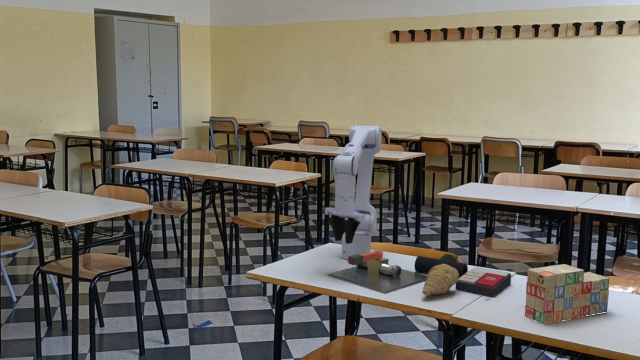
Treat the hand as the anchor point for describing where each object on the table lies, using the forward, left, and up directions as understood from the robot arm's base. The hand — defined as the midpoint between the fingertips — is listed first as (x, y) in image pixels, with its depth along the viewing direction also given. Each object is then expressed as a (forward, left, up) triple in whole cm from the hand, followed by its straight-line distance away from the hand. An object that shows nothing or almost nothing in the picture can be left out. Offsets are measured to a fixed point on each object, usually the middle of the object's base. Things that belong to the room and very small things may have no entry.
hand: (343, 241), depth 177 cm
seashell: (+29, +7, -11) cm, 32 cm away
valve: (+8, +7, -10) cm, 15 cm away
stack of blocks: (+59, +19, -11) cm, 63 cm away
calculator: (+33, +23, -11) cm, 42 cm away
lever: (+5, +5, -5) cm, 9 cm away
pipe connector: (+17, +27, -11) cm, 34 cm away
